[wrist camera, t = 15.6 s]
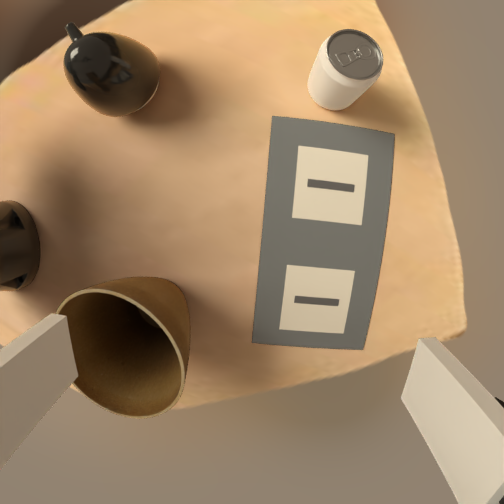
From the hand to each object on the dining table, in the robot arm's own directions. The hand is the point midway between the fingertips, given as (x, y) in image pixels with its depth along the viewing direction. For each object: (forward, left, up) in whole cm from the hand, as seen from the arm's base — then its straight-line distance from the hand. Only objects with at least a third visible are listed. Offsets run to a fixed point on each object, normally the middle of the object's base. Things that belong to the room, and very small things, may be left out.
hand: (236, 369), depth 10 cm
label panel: (+8, 0, -31) cm, 31 cm away
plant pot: (-13, -11, -31) cm, 35 cm away
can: (+7, +20, -31) cm, 37 cm away
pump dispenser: (-19, +19, -31) cm, 41 cm away
